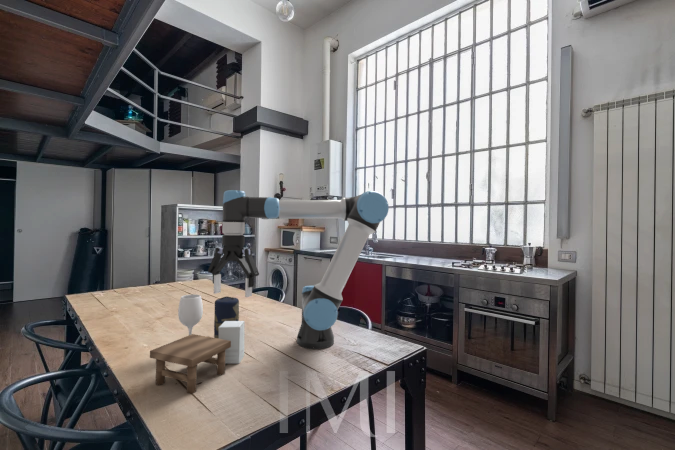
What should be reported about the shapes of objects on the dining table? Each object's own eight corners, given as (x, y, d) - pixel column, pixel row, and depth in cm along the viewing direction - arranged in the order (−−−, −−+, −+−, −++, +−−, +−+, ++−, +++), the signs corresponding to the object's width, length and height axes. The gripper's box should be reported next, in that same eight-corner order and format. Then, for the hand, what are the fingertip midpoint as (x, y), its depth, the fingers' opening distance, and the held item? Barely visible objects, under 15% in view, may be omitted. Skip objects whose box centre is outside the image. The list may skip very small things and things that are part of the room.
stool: (230, 371, 103) (230, 340, 103) (191, 396, 88) (192, 359, 88) (191, 363, 109) (192, 334, 109) (149, 385, 94) (149, 350, 94)
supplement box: (244, 355, 117) (245, 320, 117) (239, 364, 109) (240, 326, 109) (224, 355, 116) (225, 320, 116) (217, 364, 109) (218, 326, 109)
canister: (230, 346, 125) (231, 299, 125) (208, 343, 127) (209, 298, 127) (242, 337, 135) (243, 294, 135) (222, 335, 136) (223, 293, 137)
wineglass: (195, 347, 123) (196, 292, 123) (207, 353, 118) (208, 296, 118) (172, 354, 116) (173, 296, 116) (183, 360, 111) (184, 300, 111)
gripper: (269, 235, 112) (268, 295, 112) (213, 233, 121) (212, 289, 121) (256, 235, 105) (255, 300, 105) (198, 233, 114) (196, 293, 114)
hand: (232, 294), depth 113 cm, fingers open, 13 cm apart
